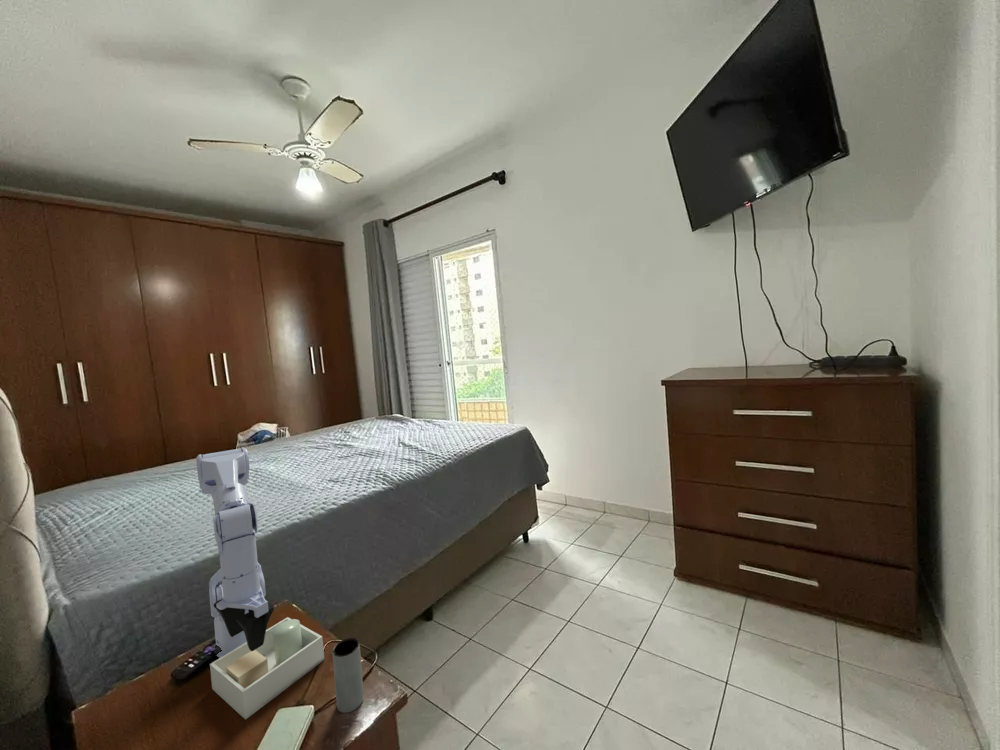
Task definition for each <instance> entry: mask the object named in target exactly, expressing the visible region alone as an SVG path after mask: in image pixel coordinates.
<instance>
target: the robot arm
mask: <svg viewBox="0 0 1000 750" xmlns="http://www.w3.org/2000/svg"><path fill="white" fill-rule="evenodd" d="M248 452H249V451H248V449H247V448H246V447H241V448H236V449H230V450H229V449H228V450H223V451H218V452H210V453H205V454H201V453H200V454H198V455H197V456H196V458H195V460H196V468H197V469H196V470H197V480H198V481H199V482H198V484H199V489H200V490H201V494H205V495H210V496H211V497H212V500H213V501H212V502H213V509H214V510H213V511H214V515H213V517H212V522H213V532H214V539H215V543H216V545H217V550H218V555H219V564H220V565H219V566H220V568H219V569H218V570H217V571H216V572H215V573H214V574H213V576H211V578H210V579H209V581H208V587H209V588H208V589H209V590H208V594H209V605H210V615H211V617H212V618H214V620H213V626H214V637H215V646H216V645H217V646H219V647H220V648H221V650H222V651H221V652H219V653H218V654H217V655H216V657H218V659H219V658H221V657H223V656H224V655H226V654H228V653H229V652H231V651H232V650H234V649H236V648H237V647H239V646H241V645H242V644H244V643H246V642H247V644H248V647H249V649H250V651H254V650H255V649H257V648H259V647H260V646H262V645H263V643H264V638H265V633H266V630H267V629H268V628H267V627H268V623H269V622H270V621H269V620H270V618H271V616H272V614H273V612H274V611H275V606H274V604H272V603H271V602H269V601H268V600H266V599H265V597H266V595H267V593H266V581H265V578H264V573H263V570H262V565H261V564H260V563H259V562H258V550H257V540H256V534H257V533H258V528H259V527H258V526H259V525H258V523H259V522H258V515H257V509H256V507H255V505H254V502H253V501H252V500H250V497H249V495H248V489H247V487H246V485H247V484H248V482H249V481H248V480H249V479H250V476H249V475H250V460H249V459H250V456H249V453H248ZM253 530H254V531H253Z"/></svg>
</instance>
